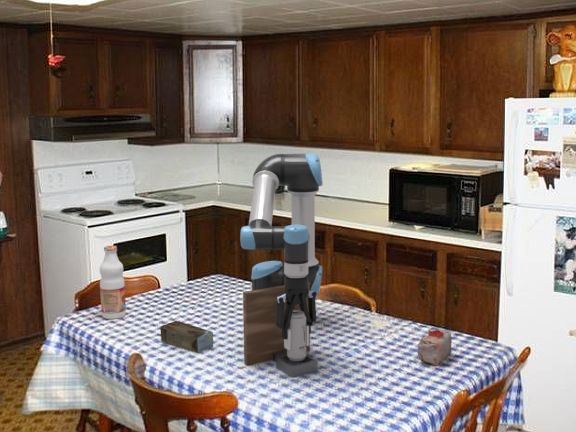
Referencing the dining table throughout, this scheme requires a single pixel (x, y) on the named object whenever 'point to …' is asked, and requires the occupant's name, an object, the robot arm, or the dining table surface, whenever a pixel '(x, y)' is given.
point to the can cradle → (294, 364)
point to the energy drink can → (297, 336)
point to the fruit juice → (112, 285)
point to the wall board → (263, 324)
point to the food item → (434, 347)
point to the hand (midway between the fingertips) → (296, 346)
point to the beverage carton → (187, 336)
